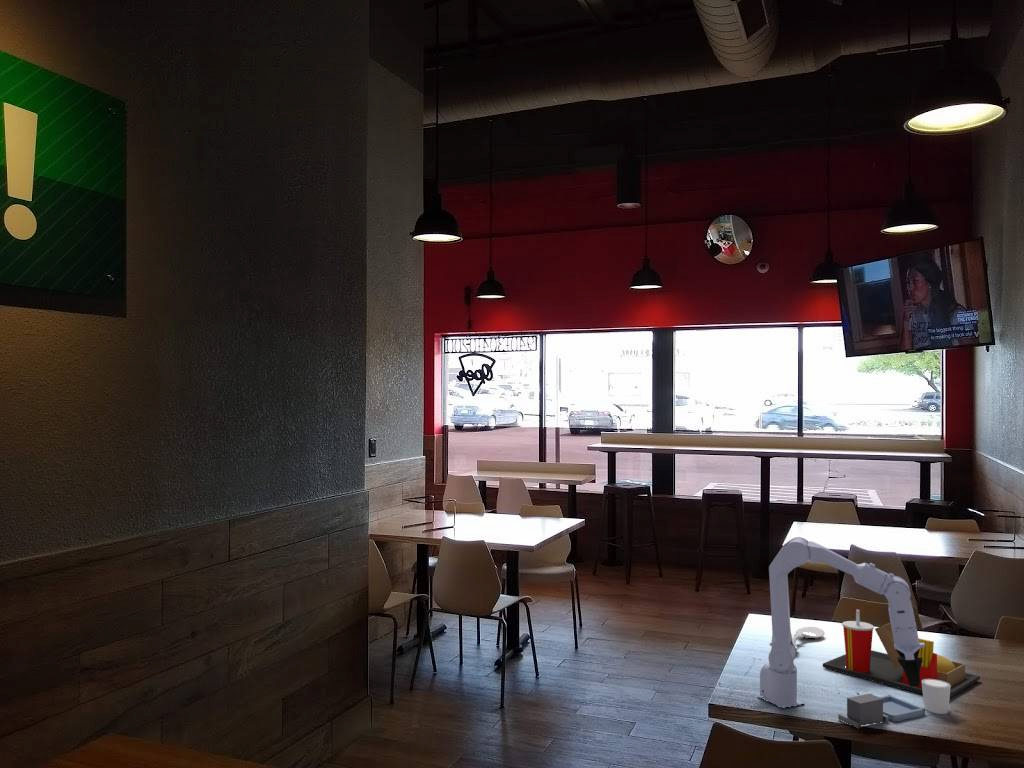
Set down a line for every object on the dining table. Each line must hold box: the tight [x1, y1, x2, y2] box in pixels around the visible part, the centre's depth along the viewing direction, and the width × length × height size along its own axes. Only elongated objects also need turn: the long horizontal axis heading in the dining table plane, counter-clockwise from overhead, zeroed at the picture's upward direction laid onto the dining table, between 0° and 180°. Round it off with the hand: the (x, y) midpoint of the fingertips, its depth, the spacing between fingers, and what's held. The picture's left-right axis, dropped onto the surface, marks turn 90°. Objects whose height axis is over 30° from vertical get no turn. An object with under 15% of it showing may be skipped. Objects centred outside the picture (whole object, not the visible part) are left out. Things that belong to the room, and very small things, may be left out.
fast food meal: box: [822, 609, 981, 698], centre depth 233 cm, size 26×35×18 cm
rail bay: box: [837, 713, 890, 730], centre depth 198 cm, size 6×11×2 cm, turn 115°
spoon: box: [769, 626, 825, 651], centre depth 264 cm, size 9×32×4 cm, turn 141°
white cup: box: [922, 679, 951, 715], centre depth 206 cm, size 7×7×7 cm
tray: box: [879, 694, 926, 723], centre depth 205 cm, size 11×12×2 cm
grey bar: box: [846, 693, 884, 725], centre depth 197 cm, size 4×8×6 cm, turn 115°
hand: (913, 681), depth 197 cm, fingers open, 7 cm apart
